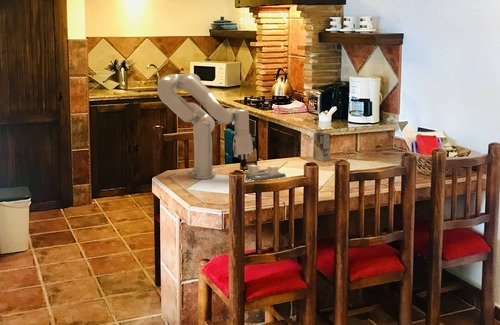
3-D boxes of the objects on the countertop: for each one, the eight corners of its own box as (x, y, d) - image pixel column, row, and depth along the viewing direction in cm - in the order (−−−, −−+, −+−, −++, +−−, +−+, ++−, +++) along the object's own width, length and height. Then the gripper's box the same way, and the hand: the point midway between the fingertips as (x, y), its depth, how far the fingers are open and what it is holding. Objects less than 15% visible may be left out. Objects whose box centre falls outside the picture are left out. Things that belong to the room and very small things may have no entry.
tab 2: (271, 175, 350) (272, 167, 349) (267, 174, 353) (267, 166, 352) (277, 174, 352) (278, 166, 351) (273, 173, 355) (273, 165, 354)
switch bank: (254, 181, 342) (254, 178, 342) (240, 176, 354) (240, 173, 353) (285, 176, 353) (285, 173, 353) (270, 171, 364) (270, 168, 364)
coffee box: (330, 160, 395) (331, 133, 391) (322, 161, 391) (323, 135, 388) (320, 157, 402) (320, 131, 399) (312, 158, 398) (313, 132, 395)
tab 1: (252, 175, 351) (252, 166, 350) (247, 173, 354) (248, 165, 353) (258, 174, 353) (258, 165, 352) (254, 172, 356) (254, 164, 355)
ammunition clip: (241, 171, 365) (241, 150, 362) (239, 170, 366) (239, 149, 364) (257, 169, 370) (257, 148, 368) (255, 168, 372) (255, 147, 369)
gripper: (233, 135, 338) (235, 169, 341) (257, 131, 345) (258, 165, 349) (226, 133, 344) (227, 167, 348) (250, 129, 352) (251, 163, 356)
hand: (243, 166), depth 348 cm, fingers closed
